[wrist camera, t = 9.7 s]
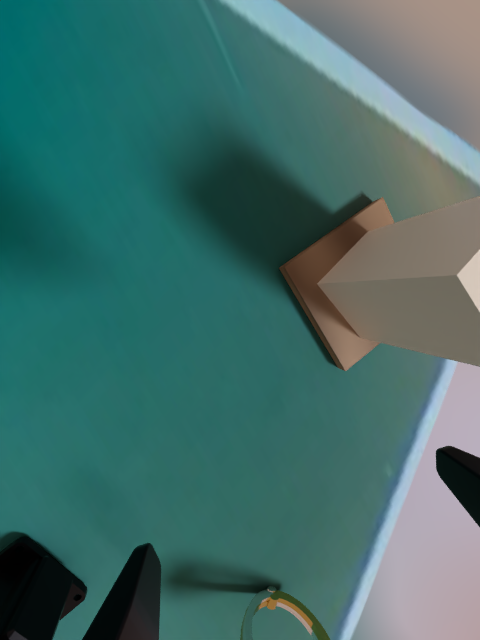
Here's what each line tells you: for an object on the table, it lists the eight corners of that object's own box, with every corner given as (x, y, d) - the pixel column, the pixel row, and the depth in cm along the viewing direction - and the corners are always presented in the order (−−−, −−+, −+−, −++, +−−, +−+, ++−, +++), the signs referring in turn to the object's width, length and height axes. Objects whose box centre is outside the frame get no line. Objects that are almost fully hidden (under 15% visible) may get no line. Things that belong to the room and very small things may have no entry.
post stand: (337, 367, 22) (372, 383, 18) (278, 267, 20) (304, 261, 16) (419, 301, 23) (468, 303, 19) (373, 201, 21) (417, 181, 17)
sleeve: (360, 337, 21) (518, 376, 11) (316, 283, 19) (456, 275, 10) (406, 287, 22) (593, 282, 12) (367, 231, 20) (546, 174, 10)
